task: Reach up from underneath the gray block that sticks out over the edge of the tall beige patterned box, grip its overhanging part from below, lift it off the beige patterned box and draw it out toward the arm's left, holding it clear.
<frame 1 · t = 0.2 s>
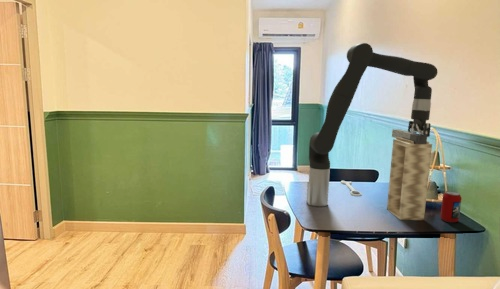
hand: (416, 144, 162), 29 cm above the table, tool pointing down, fingers open, 8 cm apart
gray block: (407, 140, 152), point 32 cm above the table, touching beige patterned box
wrench: (350, 189, 192), on the table
beige patterned box: (404, 214, 153), on the table
beverage can: (449, 220, 147), on the table
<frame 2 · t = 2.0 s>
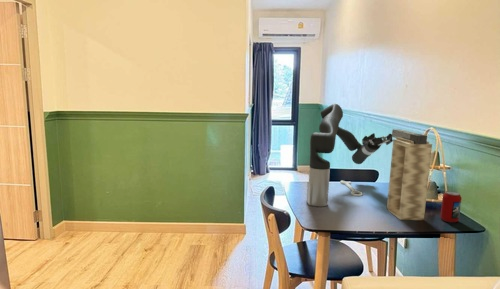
hand: (382, 135, 175), 31 cm above the table, tool pointing upward, fingers open, 8 cm apart
nothing on the table moved.
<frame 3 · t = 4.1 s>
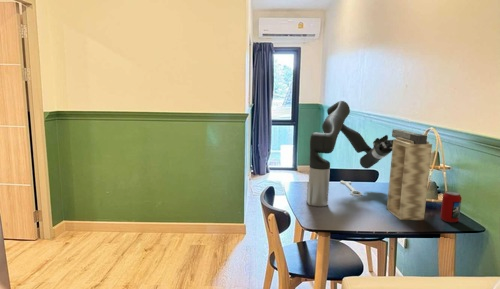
hand: (396, 137, 162), 32 cm above the table, tool pointing upward, fingers open, 8 cm apart
nothing on the table moved.
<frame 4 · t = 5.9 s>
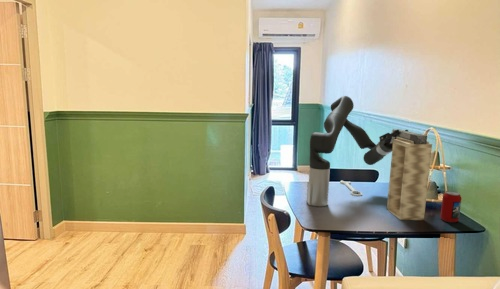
hand: (402, 131, 156), 35 cm above the table, tool pointing upward, fingers closed on gray block, 3 cm apart
gray block: (407, 140, 152), point 32 cm above the table, touching gripper, beige patterned box
everything else where it was.
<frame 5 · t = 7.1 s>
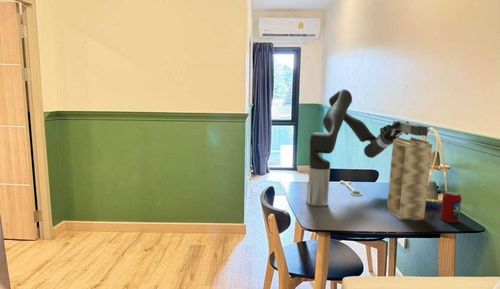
hand: (403, 123, 155), 39 cm above the table, tool pointing upward, fingers closed on gray block, 3 cm apart
gray block: (407, 131, 151), point 36 cm above the table, touching gripper
everything else where it was.
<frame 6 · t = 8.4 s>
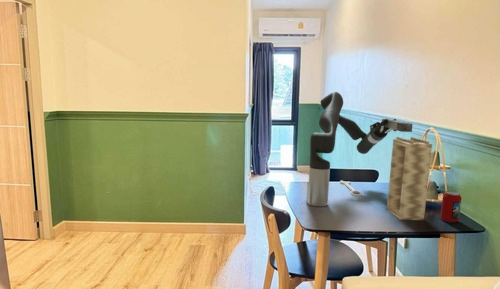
hand: (391, 120, 167), 39 cm above the table, tool pointing upward, fingers closed on gray block, 3 cm apart
gray block: (394, 128, 163), point 36 cm above the table, touching gripper
everything else where it was.
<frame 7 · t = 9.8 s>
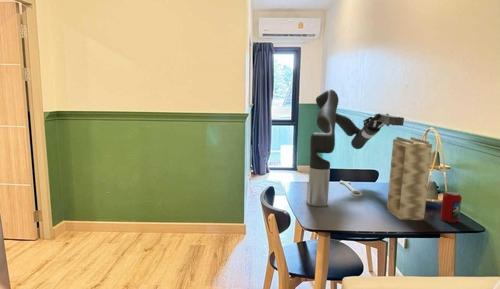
hand: (383, 115, 171), 41 cm above the table, tool pointing upward, fingers closed on gray block, 3 cm apart
gray block: (387, 122, 167), point 38 cm above the table, touching gripper
everything else where it was.
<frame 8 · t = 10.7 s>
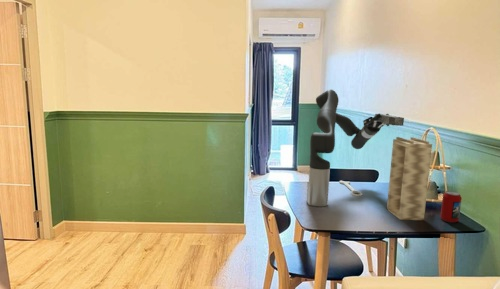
hand: (383, 115, 171), 41 cm above the table, tool pointing upward, fingers closed on gray block, 3 cm apart
gray block: (387, 122, 167), point 38 cm above the table, touching gripper
everything else where it was.
at the end: the gripper is holding gray block; gray block inside the target area (2.2 cm from its centre), point 37.9 cm above the table; gray block touching gripper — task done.
